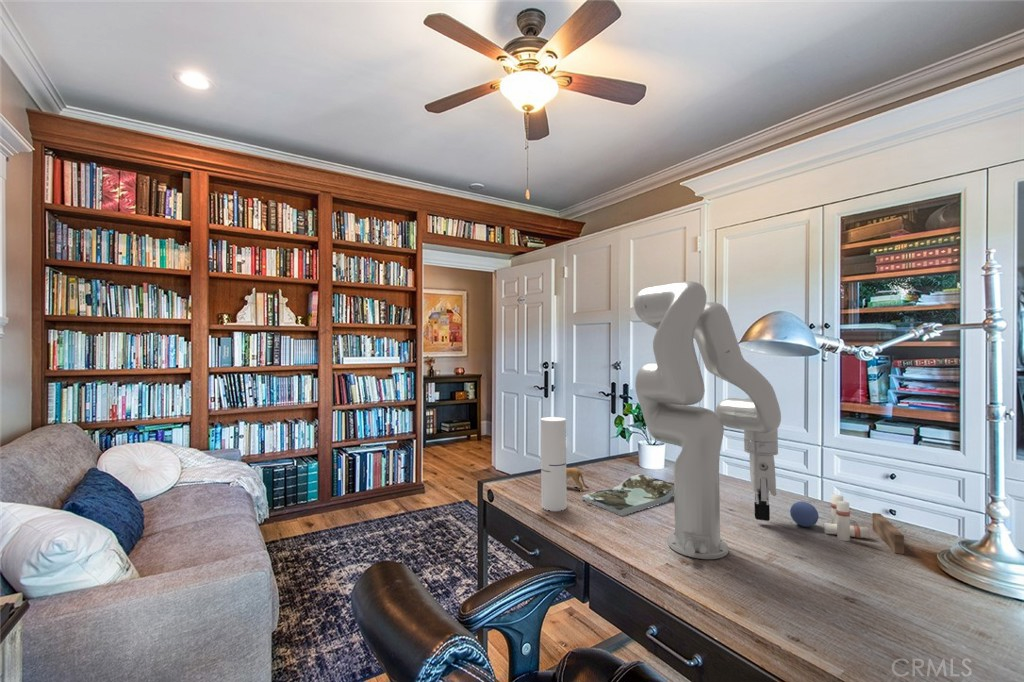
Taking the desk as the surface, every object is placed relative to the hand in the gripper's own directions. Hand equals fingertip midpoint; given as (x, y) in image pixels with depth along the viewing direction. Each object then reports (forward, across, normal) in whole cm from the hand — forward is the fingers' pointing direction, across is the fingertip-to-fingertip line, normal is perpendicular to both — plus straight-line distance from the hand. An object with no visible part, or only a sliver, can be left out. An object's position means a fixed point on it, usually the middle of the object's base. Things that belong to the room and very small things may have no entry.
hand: (762, 518), depth 114 cm
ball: (-2, +3, -10) cm, 10 cm away
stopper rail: (+2, 0, -26) cm, 26 cm away
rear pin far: (+2, +2, -16) cm, 17 cm away
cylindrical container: (+2, -7, +53) cm, 53 cm away
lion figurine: (+2, +11, +55) cm, 56 cm away
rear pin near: (+2, -2, -16) cm, 17 cm away
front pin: (0, 0, -13) cm, 13 cm away
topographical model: (+2, +8, +33) cm, 34 cm away
